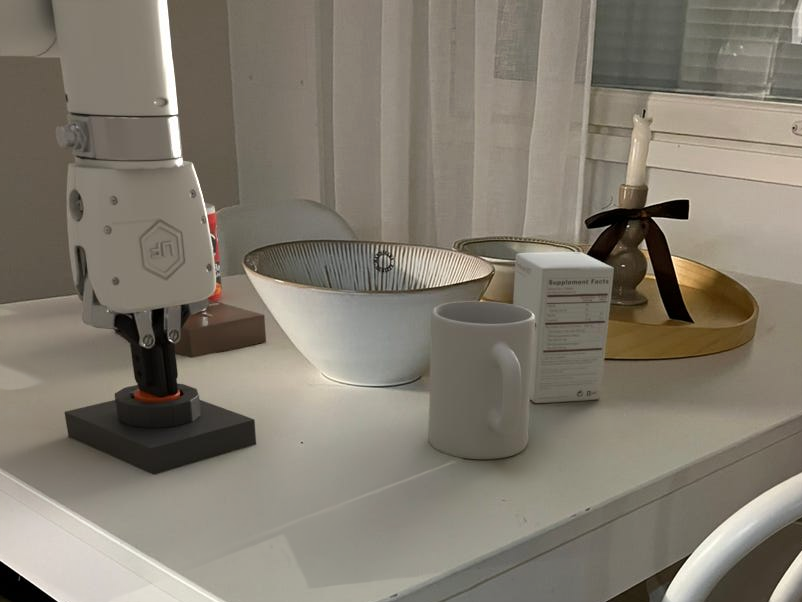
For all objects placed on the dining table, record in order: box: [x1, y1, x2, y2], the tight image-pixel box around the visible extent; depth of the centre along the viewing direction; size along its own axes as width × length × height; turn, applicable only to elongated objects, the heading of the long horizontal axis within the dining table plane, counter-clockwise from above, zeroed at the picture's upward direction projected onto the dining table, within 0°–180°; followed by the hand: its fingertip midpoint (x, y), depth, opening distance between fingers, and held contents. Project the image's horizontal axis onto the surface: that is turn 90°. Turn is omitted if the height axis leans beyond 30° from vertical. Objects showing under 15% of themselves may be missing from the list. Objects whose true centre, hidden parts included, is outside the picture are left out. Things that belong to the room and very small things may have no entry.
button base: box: [63, 382, 257, 475], centre depth 84 cm, size 12×10×4 cm
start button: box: [134, 389, 180, 402], centre depth 84 cm, size 4×4×2 cm
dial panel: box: [114, 300, 267, 359], centre depth 113 cm, size 14×10×3 cm
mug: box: [427, 300, 535, 460], centre depth 84 cm, size 12×8×11 cm
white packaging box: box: [512, 251, 615, 404], centre depth 99 cm, size 7×7×13 cm
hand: (158, 391), depth 83 cm, fingers closed
